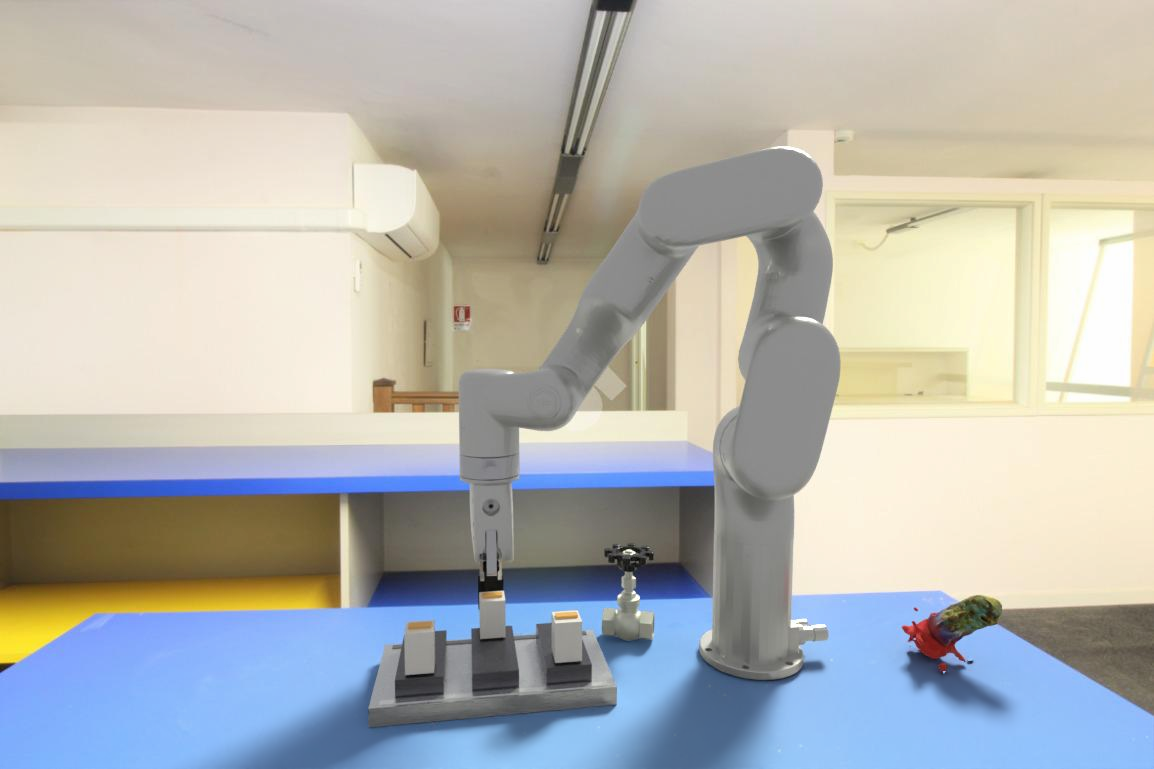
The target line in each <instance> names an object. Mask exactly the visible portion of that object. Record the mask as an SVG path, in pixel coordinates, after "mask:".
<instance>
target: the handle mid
mask: <svg viewBox="0 0 1154 769" xmlns="http://www.w3.org/2000/svg"><path fill="white" fill-rule="evenodd" d="M478 611H479V614H478V615H479V628H480V639H488V638H502V637H506V626H507V625H506V624H507V623H506V595H505V590H504V591H491V592H479V609H478Z"/></svg>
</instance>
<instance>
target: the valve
mask: <svg viewBox="0 0 1154 769" xmlns="http://www.w3.org/2000/svg"><path fill="white" fill-rule="evenodd" d="M611 545H612V546H611V547H606V548H604V549H603V557H604V558H607V563H609V564H615V563H616V564H617V565H616V567H618V569H619V570H621V571H622V572H624V575H623V576H621V588H622V589H623V590H622V591H621V592H620V593H619V594H618V595H617V597H616V599H617V600H616V602H617V603H616V604H617V606H618V607H619V609H618V608H615V607H614V608H611V607H604V609H603V612H602V616H601V634H602V635H603V636H605V637H606V636H608V637H609V636H610V637H617V638H618V639H621V640H623V641H627V642H630V641H635V640H637V639H639V640H648V641H649V640H650V641H653V639H654V637H655V636H654V635H655V621H656V620H655V618H656V617H655V612H654V611H647V610H639V609H638V608H639V607H640V604H641V599H640V598H641V597H640V595H639V594H637V593H636V591H635V590H634V589H636V588H637V578H636V577H635V576H634V575H633V574H634V572H637V569H639V568H642V567H643V566H645V565H647V564H648V560H649V561H650V562H651V561H654V560H655V552H654V551H653V550H650V546H648V545H641V546H636V543H634V542H628V543H627V544H626V545H621V544H620V543H613V544H611ZM647 558H648V560H647Z"/></svg>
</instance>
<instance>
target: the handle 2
mask: <svg viewBox="0 0 1154 769" xmlns="http://www.w3.org/2000/svg"><path fill="white" fill-rule="evenodd" d="M551 623H552V653H553V657H554V661H555V663H563V662H576V661H582V631H583V620H582V618H581V615H580V612H579V610H577V609H576V610H561V611H552V612H551Z"/></svg>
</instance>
